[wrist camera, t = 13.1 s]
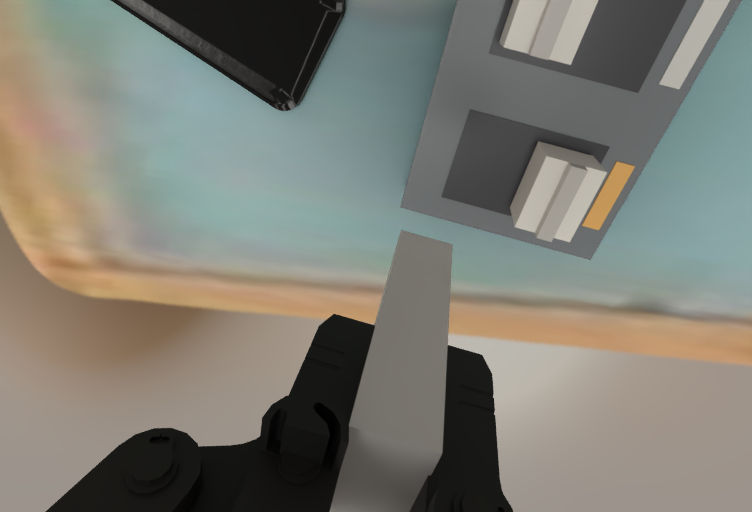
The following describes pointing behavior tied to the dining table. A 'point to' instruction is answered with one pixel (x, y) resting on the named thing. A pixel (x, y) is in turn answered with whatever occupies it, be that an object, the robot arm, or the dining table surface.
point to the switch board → (555, 109)
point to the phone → (250, 39)
